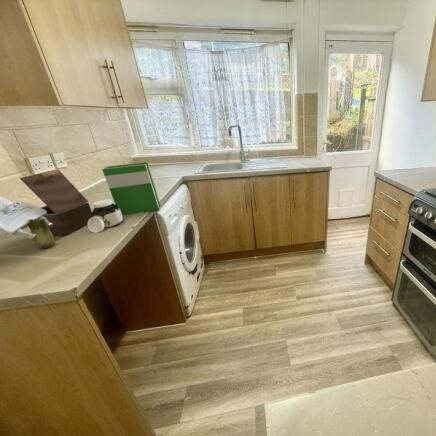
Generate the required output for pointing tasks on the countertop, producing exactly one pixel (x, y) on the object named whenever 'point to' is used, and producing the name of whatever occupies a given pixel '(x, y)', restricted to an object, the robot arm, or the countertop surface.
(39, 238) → the fennel bulb
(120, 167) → the hardback book
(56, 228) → the chest
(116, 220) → the spread jar
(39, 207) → the robot arm
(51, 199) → the chest lid
